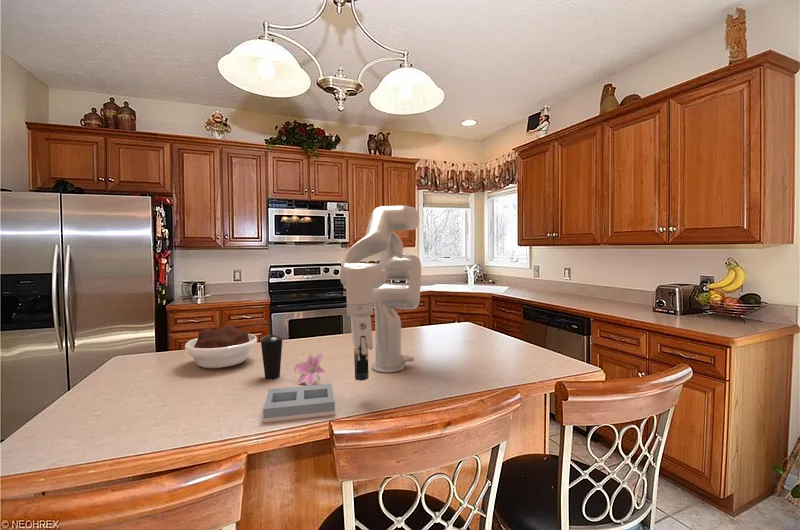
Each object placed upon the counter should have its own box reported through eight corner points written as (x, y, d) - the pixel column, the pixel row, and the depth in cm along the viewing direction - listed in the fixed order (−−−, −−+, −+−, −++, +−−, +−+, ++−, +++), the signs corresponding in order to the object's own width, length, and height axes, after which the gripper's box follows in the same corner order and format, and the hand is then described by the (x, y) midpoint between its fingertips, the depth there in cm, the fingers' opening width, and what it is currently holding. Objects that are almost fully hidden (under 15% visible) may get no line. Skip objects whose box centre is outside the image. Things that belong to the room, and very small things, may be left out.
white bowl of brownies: (240, 375, 132) (239, 333, 131) (170, 375, 132) (169, 333, 132) (267, 355, 157) (266, 319, 156) (208, 355, 157) (207, 319, 156)
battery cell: (367, 374, 112) (366, 343, 111) (369, 379, 108) (368, 347, 107) (354, 376, 111) (353, 344, 110) (355, 381, 107) (354, 348, 106)
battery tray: (331, 394, 114) (331, 383, 114) (334, 414, 100) (334, 401, 100) (269, 400, 110) (269, 389, 109) (263, 422, 96) (263, 409, 96)
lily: (293, 381, 129) (284, 361, 124) (324, 363, 134) (316, 343, 129) (307, 402, 120) (297, 382, 115) (339, 382, 125) (331, 362, 120)
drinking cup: (276, 381, 125) (275, 322, 124) (256, 380, 127) (254, 321, 126) (288, 374, 133) (286, 318, 132) (268, 372, 134) (267, 317, 133)
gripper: (378, 313, 101) (379, 380, 102) (368, 303, 117) (369, 360, 118) (350, 315, 99) (351, 383, 100) (344, 304, 115) (345, 362, 116)
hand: (361, 370), depth 109 cm, fingers closed on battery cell, 4 cm apart
